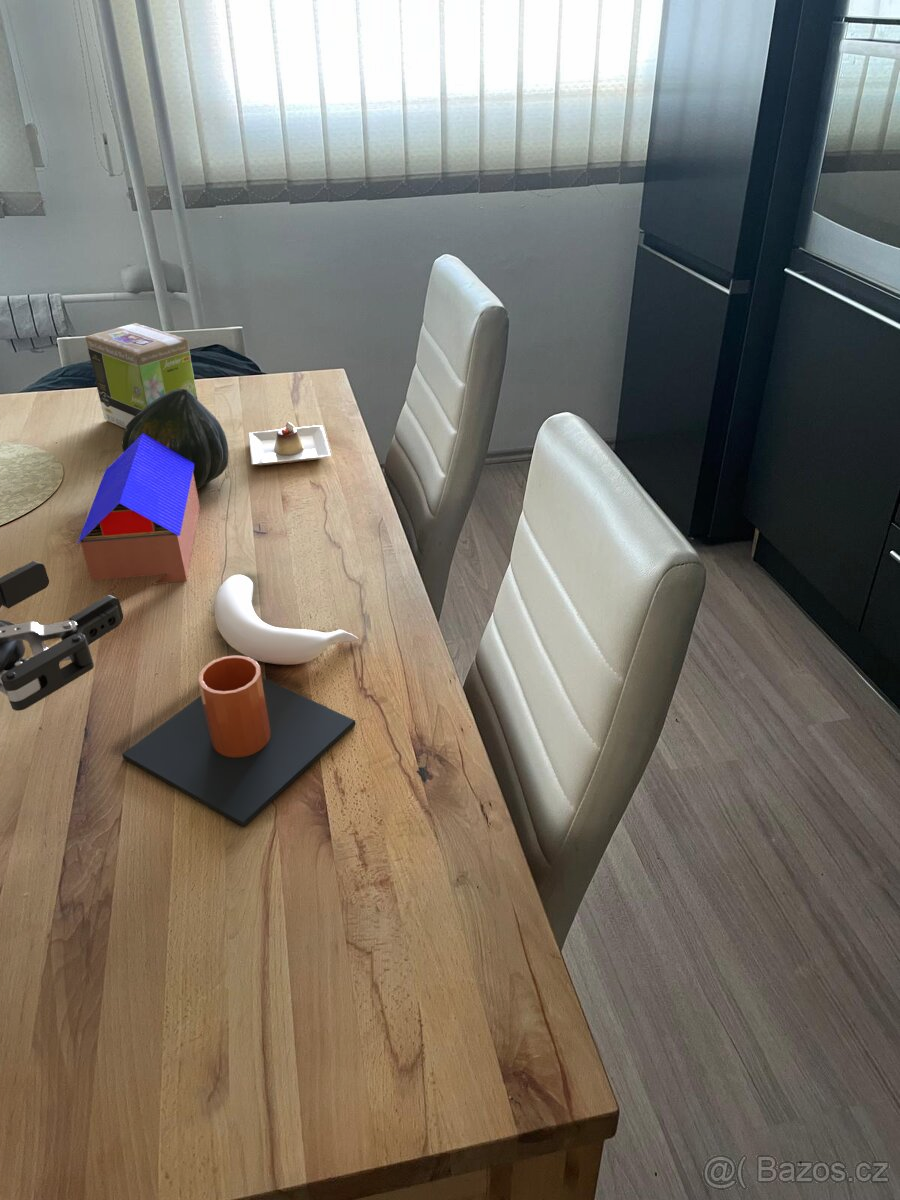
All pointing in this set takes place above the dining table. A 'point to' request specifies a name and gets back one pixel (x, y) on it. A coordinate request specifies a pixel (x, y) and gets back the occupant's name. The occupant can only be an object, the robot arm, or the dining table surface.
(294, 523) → the dining table surface
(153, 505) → the house
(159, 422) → the squash
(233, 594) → the banana
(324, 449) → the dessert
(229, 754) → the cup
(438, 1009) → the dining table surface
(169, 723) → the mat
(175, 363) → the tea box
